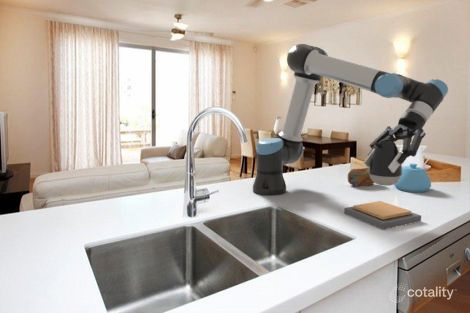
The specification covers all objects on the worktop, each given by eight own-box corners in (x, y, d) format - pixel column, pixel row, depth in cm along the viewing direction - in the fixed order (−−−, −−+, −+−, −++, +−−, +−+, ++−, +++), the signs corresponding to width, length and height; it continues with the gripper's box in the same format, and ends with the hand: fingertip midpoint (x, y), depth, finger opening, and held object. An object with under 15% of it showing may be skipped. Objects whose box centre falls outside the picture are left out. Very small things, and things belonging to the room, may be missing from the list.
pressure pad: (353, 208, 114) (353, 205, 114) (380, 203, 119) (380, 200, 119) (382, 219, 103) (383, 216, 103) (411, 213, 108) (411, 211, 108)
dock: (344, 213, 116) (344, 207, 115) (379, 206, 122) (379, 201, 122) (382, 229, 100) (383, 223, 100) (420, 221, 107) (421, 215, 107)
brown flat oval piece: (350, 187, 152) (350, 169, 151) (346, 185, 155) (346, 168, 154) (377, 184, 156) (378, 167, 155) (372, 183, 159) (373, 166, 158)
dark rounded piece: (360, 182, 112) (362, 138, 109) (382, 179, 116) (385, 136, 114) (385, 189, 103) (388, 141, 100) (408, 185, 107) (411, 139, 105)
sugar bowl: (397, 183, 159) (399, 160, 157) (433, 188, 149) (435, 163, 147) (389, 189, 147) (391, 164, 145) (427, 195, 138) (429, 168, 136)
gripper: (451, 127, 102) (413, 181, 99) (392, 123, 123) (358, 168, 119) (442, 110, 99) (401, 165, 96) (383, 109, 120) (348, 155, 116)
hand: (378, 167), depth 107 cm, fingers closed on dark rounded piece, 9 cm apart
